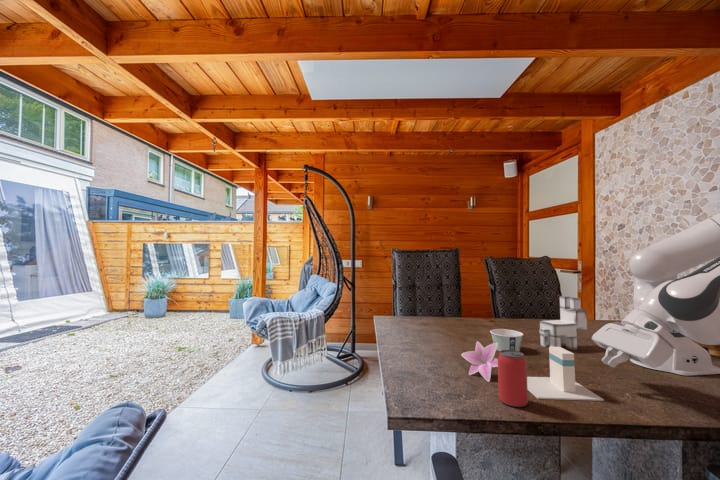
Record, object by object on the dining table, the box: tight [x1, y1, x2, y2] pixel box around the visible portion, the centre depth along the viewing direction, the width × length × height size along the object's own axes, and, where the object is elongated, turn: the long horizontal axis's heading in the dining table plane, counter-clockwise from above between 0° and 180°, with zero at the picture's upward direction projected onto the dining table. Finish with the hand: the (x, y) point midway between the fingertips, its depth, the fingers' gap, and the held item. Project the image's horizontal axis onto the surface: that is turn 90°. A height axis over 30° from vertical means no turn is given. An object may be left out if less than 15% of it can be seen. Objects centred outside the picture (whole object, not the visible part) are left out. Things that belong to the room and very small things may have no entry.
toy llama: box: [538, 295, 588, 351], centre depth 124 cm, size 8×18×20 cm, turn 101°
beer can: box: [497, 350, 529, 408], centre depth 77 cm, size 7×7×12 cm
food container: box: [489, 328, 524, 352], centre depth 121 cm, size 12×12×6 cm
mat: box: [527, 376, 605, 402], centre depth 84 cm, size 16×14×1 cm
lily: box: [460, 340, 498, 383], centre depth 95 cm, size 12×12×10 cm
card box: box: [548, 346, 576, 392], centre depth 85 cm, size 3×6×10 cm, turn 176°
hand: (607, 364), depth 84 cm, fingers closed
